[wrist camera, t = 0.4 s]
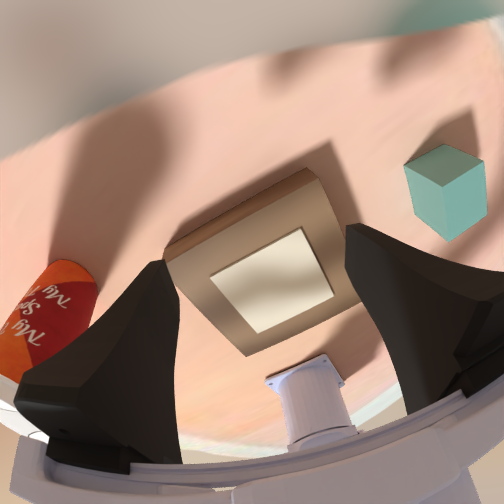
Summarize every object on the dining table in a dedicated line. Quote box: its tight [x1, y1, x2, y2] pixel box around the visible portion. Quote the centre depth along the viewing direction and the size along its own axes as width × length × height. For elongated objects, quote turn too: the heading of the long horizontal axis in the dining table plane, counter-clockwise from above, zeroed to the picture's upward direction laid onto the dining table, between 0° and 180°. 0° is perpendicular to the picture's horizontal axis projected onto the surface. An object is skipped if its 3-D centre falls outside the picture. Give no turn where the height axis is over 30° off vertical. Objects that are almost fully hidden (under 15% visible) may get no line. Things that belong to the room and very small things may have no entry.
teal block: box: [403, 144, 487, 242], centre depth 18 cm, size 5×5×5 cm
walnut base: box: [162, 168, 362, 357], centre depth 22 cm, size 12×12×3 cm
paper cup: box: [0, 260, 98, 444], centre depth 16 cm, size 8×8×14 cm
